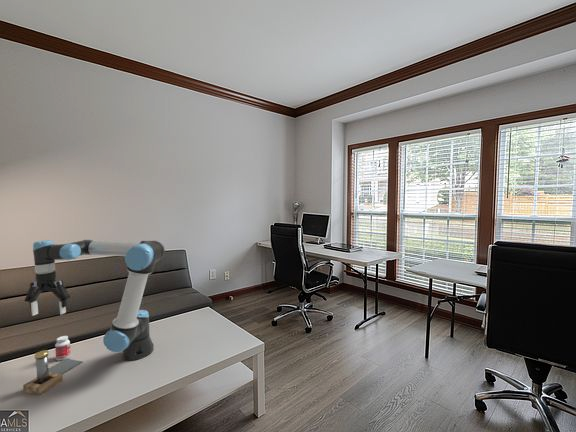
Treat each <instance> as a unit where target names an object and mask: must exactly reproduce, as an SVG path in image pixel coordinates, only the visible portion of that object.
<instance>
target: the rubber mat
mask: <svg viewBox="0 0 576 432" xmlns="http://www.w3.org/2000/svg"><path fill="white" fill-rule="evenodd" d="M80 364H83V361H82V360H76V359H70V358H67V359H65V360H61V361H58V362H57V363H55V364H54V365H52V366H50V367H48V368H49V372H51V373H56V374H61V375H62V376H63V375H64V374H65V373H67V372H69V371H70V370H72V369H74V368H76V367H78V365H79V366H80Z"/></svg>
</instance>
